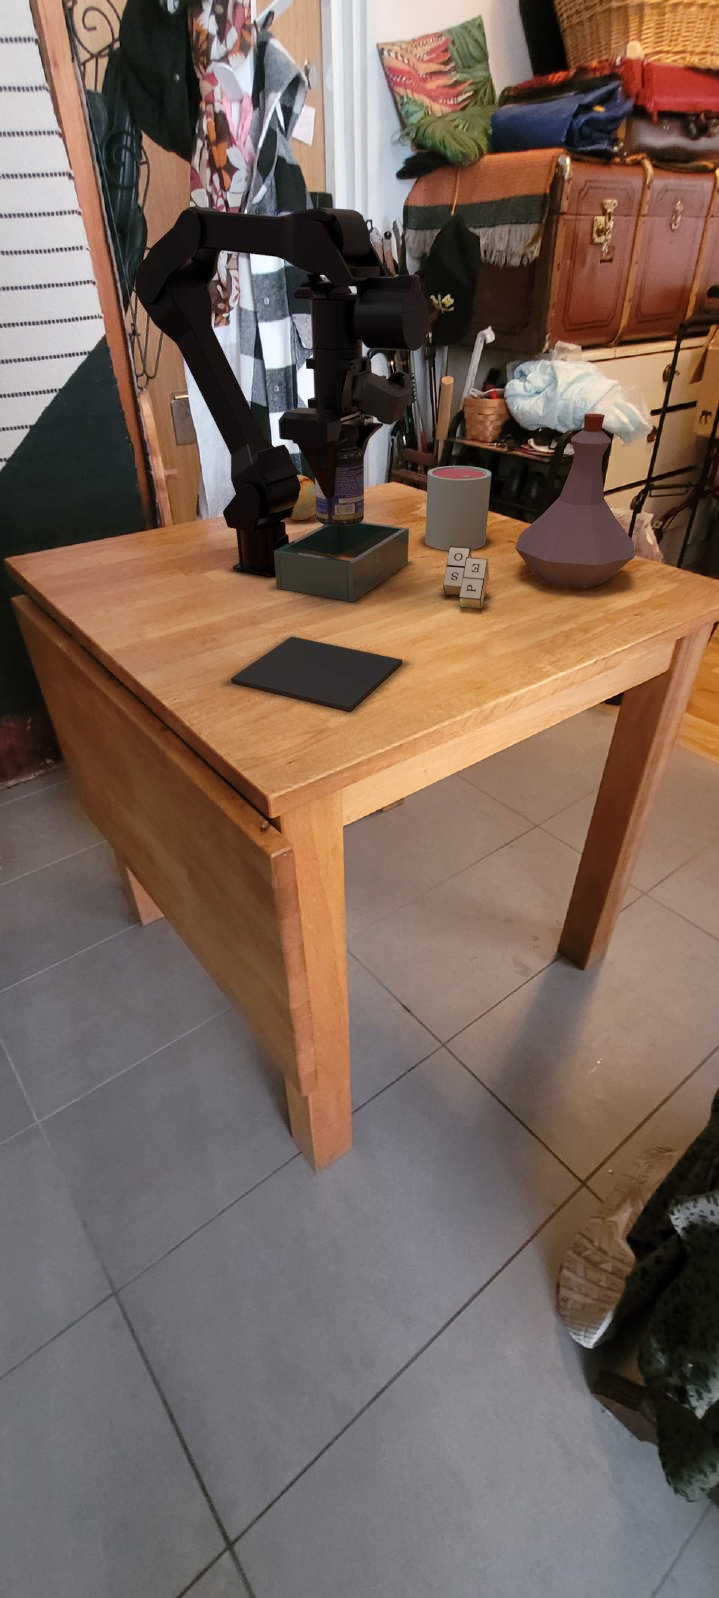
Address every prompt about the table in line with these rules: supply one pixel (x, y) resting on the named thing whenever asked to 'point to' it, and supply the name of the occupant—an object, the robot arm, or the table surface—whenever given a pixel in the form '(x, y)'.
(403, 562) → the teal open box
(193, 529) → the table surface
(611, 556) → the flask
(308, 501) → the ball
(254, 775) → the table surface
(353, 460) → the pill bottle
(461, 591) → the building blocks
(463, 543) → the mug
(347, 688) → the mat
